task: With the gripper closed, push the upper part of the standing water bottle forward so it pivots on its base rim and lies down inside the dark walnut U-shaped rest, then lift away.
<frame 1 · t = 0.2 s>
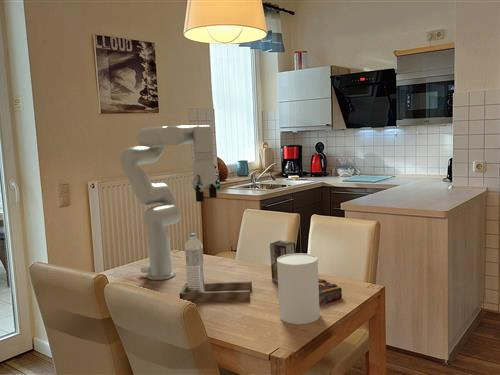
hand: (206, 199, 198), 36 cm above the table, tool pointing down, fingers open, 9 cm apart
canister: (299, 316, 168), on the table
decorative book: (319, 297, 185), on the table
coffee box: (284, 281, 206), on the table
bottle rest: (220, 295, 192), on the table
water bottle: (197, 297, 193), resting in bottle rest
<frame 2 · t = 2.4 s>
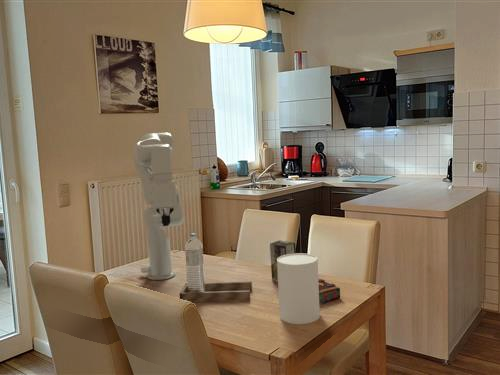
hand: (166, 225, 190), 29 cm above the table, tool pointing down, fingers closed
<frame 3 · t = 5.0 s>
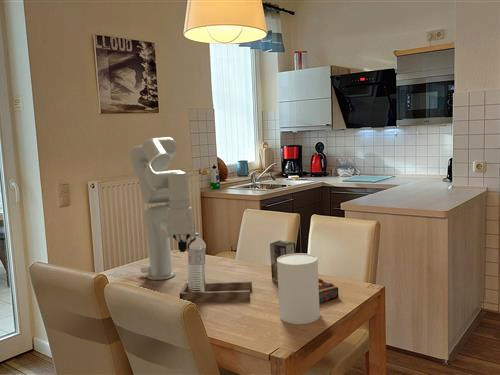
hand: (183, 251, 190), 18 cm above the table, tool pointing down, fingers closed
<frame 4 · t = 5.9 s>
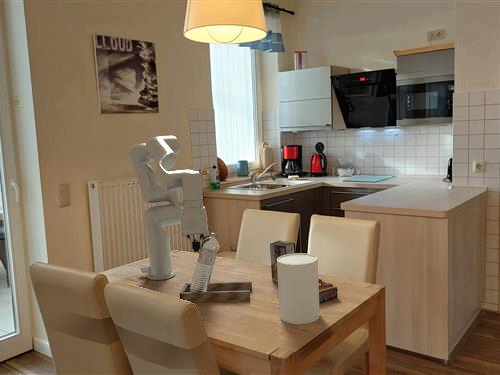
hand: (196, 250, 190), 18 cm above the table, tool pointing down, fingers closed
water bottle: (197, 294, 193), point 1 cm above the table, touching gripper
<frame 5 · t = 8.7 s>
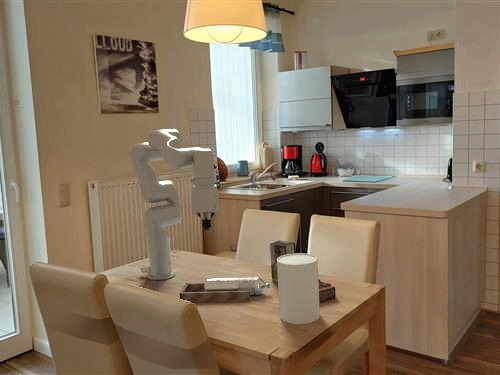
hand: (207, 229, 189), 26 cm above the table, tool pointing down, fingers closed
water bottle: (205, 287, 193), point 3 cm above the table
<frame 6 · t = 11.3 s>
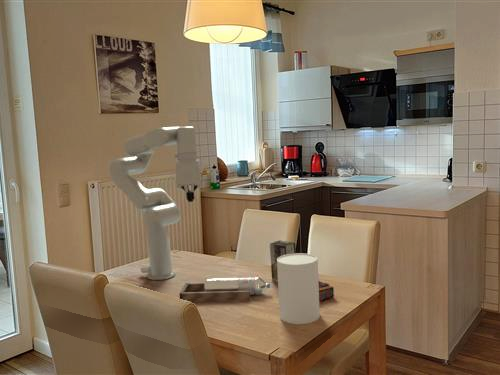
hand: (190, 201, 204), 35 cm above the table, tool pointing down, fingers closed
at the end: water bottle tilted 90°; water bottle inside the target area on the bottle rest (3.8 cm from its centre), point 3.4 cm above the bottle rest's base; the gripper is holding nothing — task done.
